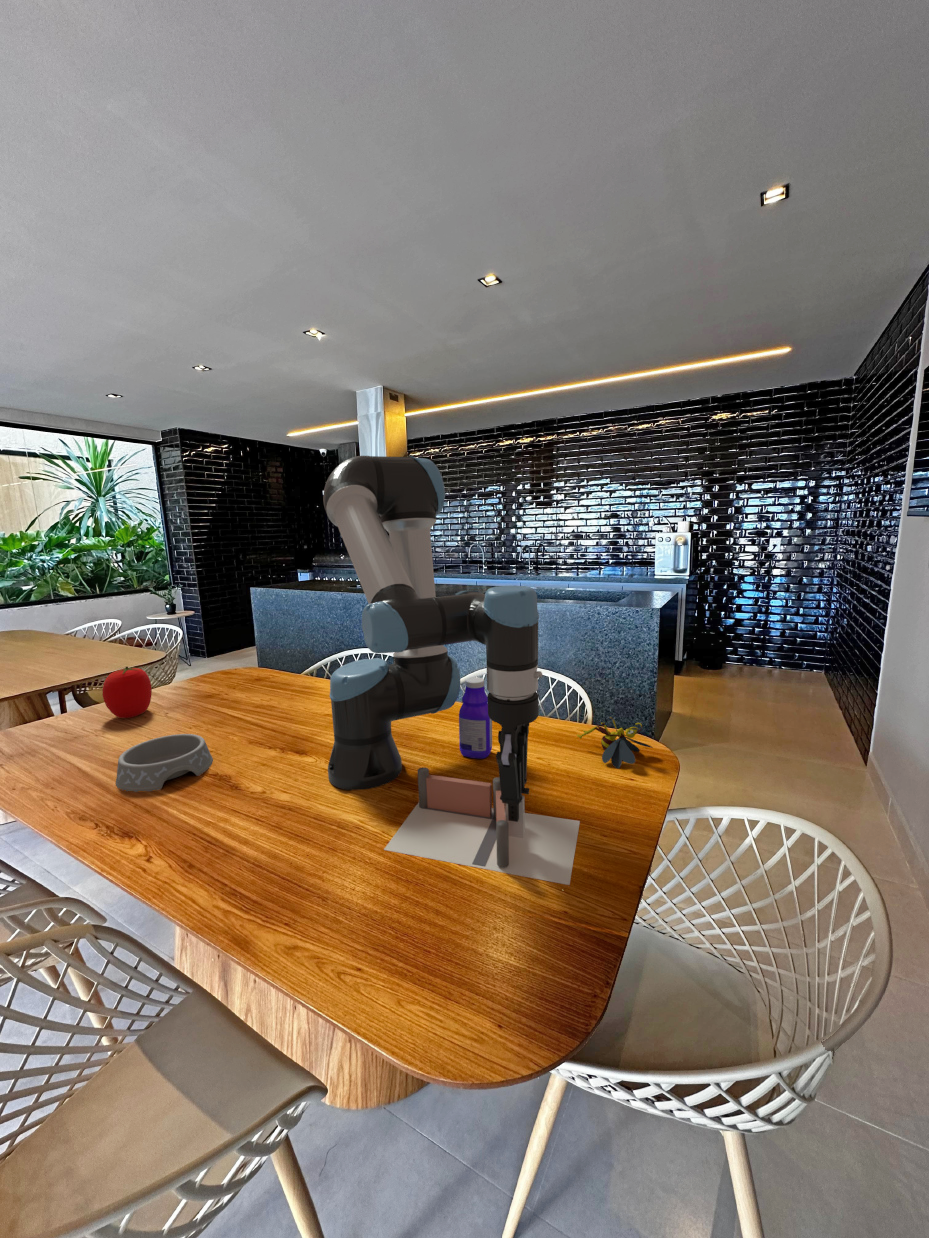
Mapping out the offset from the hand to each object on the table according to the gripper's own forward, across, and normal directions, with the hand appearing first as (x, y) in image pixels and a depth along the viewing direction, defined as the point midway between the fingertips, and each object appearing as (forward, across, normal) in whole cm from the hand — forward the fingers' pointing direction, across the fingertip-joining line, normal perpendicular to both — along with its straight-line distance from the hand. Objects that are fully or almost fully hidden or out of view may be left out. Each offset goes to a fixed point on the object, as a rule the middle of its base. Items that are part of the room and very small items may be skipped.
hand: (515, 834), depth 79 cm
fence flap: (+2, 0, +2) cm, 3 cm away
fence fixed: (+2, +7, +11) cm, 14 cm away
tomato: (+3, +31, +116) cm, 120 cm away
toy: (+4, +38, -13) cm, 40 cm away
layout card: (+3, +2, +6) cm, 6 cm away
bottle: (+3, +30, +15) cm, 34 cm away
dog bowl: (+3, +7, +78) cm, 79 cm away
